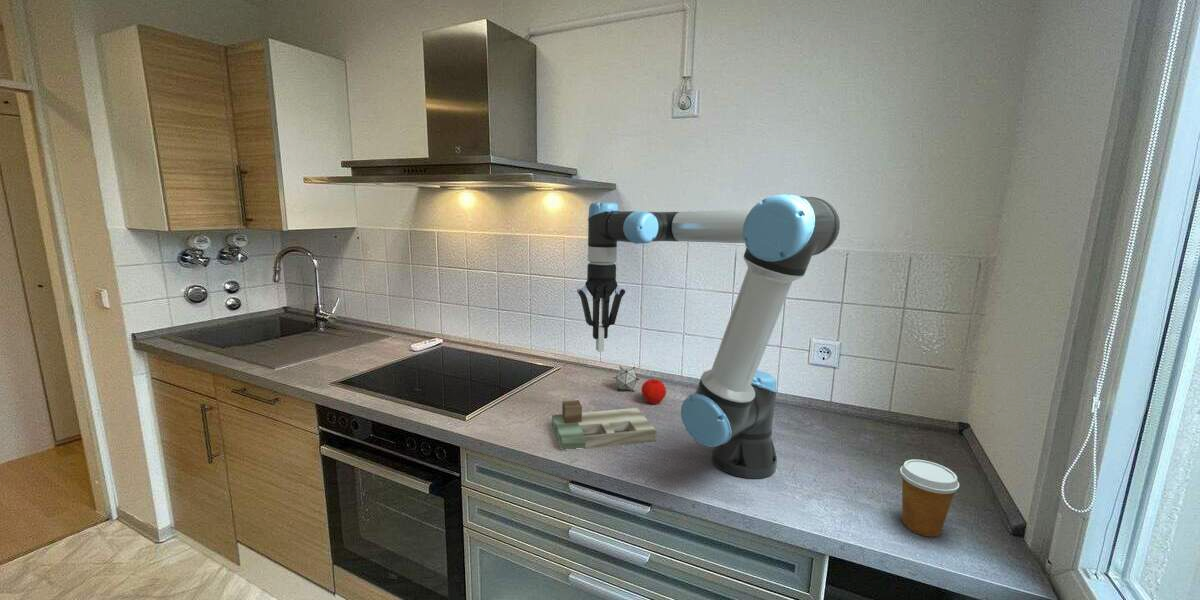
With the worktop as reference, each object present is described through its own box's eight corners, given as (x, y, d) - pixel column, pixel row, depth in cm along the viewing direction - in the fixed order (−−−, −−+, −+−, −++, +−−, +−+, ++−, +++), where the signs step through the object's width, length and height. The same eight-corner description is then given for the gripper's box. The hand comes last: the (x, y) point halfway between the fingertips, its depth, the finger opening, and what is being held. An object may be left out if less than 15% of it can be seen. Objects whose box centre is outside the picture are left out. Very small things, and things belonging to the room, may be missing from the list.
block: (581, 422, 132) (581, 406, 131) (565, 423, 131) (565, 407, 130) (578, 415, 136) (578, 400, 135) (562, 416, 135) (562, 401, 134)
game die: (627, 402, 163) (627, 386, 156) (608, 388, 168) (607, 371, 160) (644, 385, 168) (645, 368, 160) (625, 371, 172) (625, 354, 164)
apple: (637, 398, 158) (638, 376, 156) (660, 396, 159) (661, 375, 158) (644, 408, 150) (645, 385, 149) (669, 406, 152) (670, 383, 150)
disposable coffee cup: (955, 549, 90) (966, 489, 87) (895, 533, 94) (904, 476, 91) (944, 520, 98) (954, 465, 96) (890, 507, 102) (898, 454, 100)
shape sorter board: (655, 441, 129) (656, 430, 128) (562, 450, 122) (562, 439, 122) (636, 417, 143) (637, 407, 142) (551, 425, 136) (552, 415, 136)
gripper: (621, 261, 133) (618, 345, 137) (574, 261, 129) (573, 347, 133) (630, 264, 125) (627, 352, 130) (580, 264, 122) (579, 355, 126)
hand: (599, 350), depth 132 cm, fingers closed
